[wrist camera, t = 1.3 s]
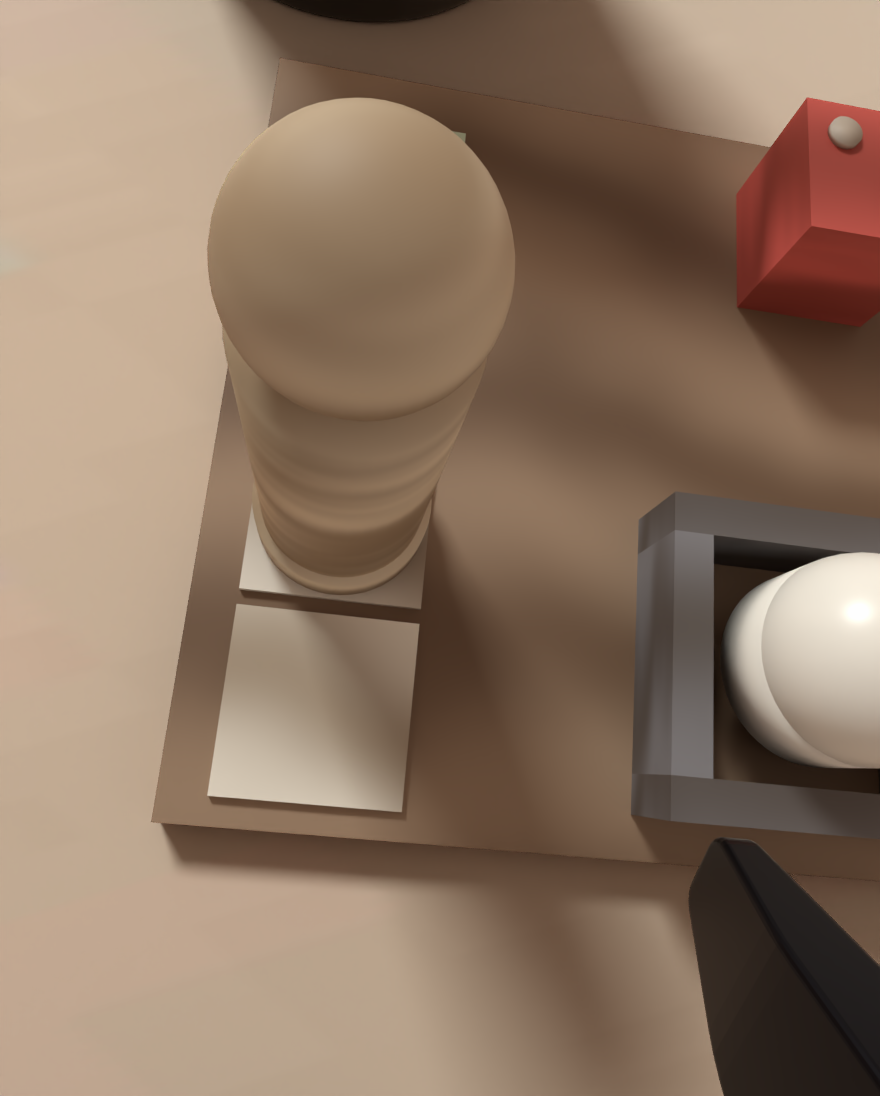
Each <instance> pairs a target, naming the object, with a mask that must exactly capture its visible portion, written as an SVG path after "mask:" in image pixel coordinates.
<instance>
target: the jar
mask: <svg viewBox="0 0 880 1096" xmlns="http://www.w3.org/2000/svg"><path fill="white" fill-rule="evenodd" d="M277 1H279V2H282V3H284V4H287V5H289V6H292V7H295V8H298V9H300V10H303V11H307V12H310V13H314V14H318V15H322V16H327V17H331V18H336V19H344V20H351V21H364V22H390V21H402V20H409V19H416V18H421V17H425V16H430V15H433V14H436V13H440V12H443V11H446V10H448V9H451V8H453V7H456V6H458V5H460V4H462V3H464V2H466V1H468V0H277Z"/></svg>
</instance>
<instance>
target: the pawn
mask: <svg viewBox="0 0 880 1096" xmlns="http://www.w3.org/2000/svg"><path fill="white" fill-rule="evenodd" d="M207 250H208V272H209V280H210V286H211V292H212V296H213V299H214V302H215V305H216V309H217V312H218V314H219V317H220V320H221V323H222V329H223V342H224V348H225V354H226V358H227V363H228V367H229V371H230V376H231V380H232V385H233V389H234V393H235V398H236V402H237V407H238V411H239V415H240V420H241V424H242V429H243V433H244V437H245V442H246V446H247V451H248V455H249V459H250V464H251V468H252V472H253V477H254V484H253V492H252V508H253V514H254V519H255V523H256V527H257V531H258V534H259V537H260V540H261V543H262V545H263V547H264V549H265V551H266V553H267V554H268V556H269V557H270V559H271V560H272V562H273V563H274V564H275V565H276V566H277V568H278V569H279V570H280V571H281V572H283V573H284V574H285V575H286V576H287V577H288V578H290V579H291V580H293V581H294V582H296V583H298V584H300V585H302V586H304V587H306V588H308V589H311V590H314V591H317V592H320V593H325V594H331V595H353V594H358V593H364V592H367V591H370V590H373V589H375V588H377V587H380V586H382V585H384V584H385V583H387V582H389V581H390V580H392V579H393V578H394V577H396V576H397V575H398V574H399V573H400V572H402V571H403V569H404V568H405V567H406V566H407V565H408V564H409V563H410V561H411V560H412V558H413V557H414V555H415V554H416V552H417V550H418V548H419V546H420V543H421V541H422V539H423V537H424V535H425V532H426V530H427V527H428V524H429V519H430V514H431V503H432V499H431V497H432V495H433V493H434V490H435V488H436V486H437V483H438V481H439V478H440V476H441V474H442V471H443V469H444V467H445V464H446V462H447V459H448V457H449V455H450V452H451V450H452V448H453V445H454V443H455V440H456V438H457V436H458V433H459V431H460V429H461V426H462V424H463V421H464V419H465V417H466V414H467V412H468V410H469V407H470V405H471V403H472V400H473V398H474V395H475V393H476V391H477V388H478V386H479V384H480V381H481V378H482V375H483V372H484V369H485V366H486V361H487V356H488V354H489V353H490V351H491V350H492V348H493V346H494V344H495V343H496V341H497V339H498V337H499V335H500V333H501V331H502V329H503V326H504V323H505V320H506V317H507V314H508V311H509V308H510V304H511V300H512V294H513V289H514V280H515V248H514V240H513V234H512V228H511V224H510V220H509V216H508V213H507V209H506V207H505V205H504V202H503V200H502V197H501V195H500V193H499V190H498V188H497V186H496V184H495V182H494V180H493V179H492V177H491V175H490V174H489V172H488V170H487V169H486V167H485V166H484V165H483V164H482V162H481V161H480V160H479V158H478V157H477V156H476V155H475V153H474V152H473V151H472V150H471V149H470V148H469V147H468V146H467V145H466V144H465V143H464V141H463V140H462V139H461V138H459V137H458V136H457V135H456V134H455V133H453V132H452V131H451V130H450V129H449V128H447V127H446V126H444V125H443V124H441V123H439V122H438V121H436V120H435V119H433V118H431V117H429V116H427V115H425V114H423V113H421V112H419V111H417V110H415V109H412V108H410V107H407V106H404V105H402V104H398V103H394V102H390V101H386V100H380V99H373V98H343V99H334V100H329V101H324V102H319V103H316V104H313V105H310V106H306V107H304V108H301V109H299V110H297V111H295V112H293V113H290V114H289V115H287V116H285V117H284V118H282V119H281V120H279V121H277V122H276V123H274V124H273V125H271V126H270V127H269V128H267V129H266V130H265V131H264V132H263V133H261V134H260V135H259V136H258V137H257V138H255V139H254V141H253V142H252V143H251V144H250V145H249V146H248V147H247V148H246V149H245V150H244V152H243V153H242V154H241V156H240V157H239V158H238V160H237V161H236V163H235V164H234V166H233V167H232V169H231V170H230V172H229V173H228V175H227V177H226V179H225V182H224V184H223V186H222V188H221V190H220V193H219V195H218V198H217V200H216V204H215V207H214V210H213V214H212V217H211V224H210V232H209V239H208V247H207Z"/></svg>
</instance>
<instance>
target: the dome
mask: <svg viewBox="0 0 880 1096" xmlns="http://www.w3.org/2000/svg"><path fill="white" fill-rule="evenodd" d="M720 665H721V674H722V680H723V685H724V688H725V691H726V694H727V697H728V700H729V702H730V704H731V706H732V709H733V710H734V712H735V714H736V715H737V717H738V719H739V720H740V722H741V723H742V724H743V726H744V727H745V728H746V730H747V731H748V732H749V733H750V734H751V735H752V736H753V737H754V738H755V739H756V740H757V741H758V742H759V743H760V744H761V745H763V746H764V747H765V748H766V749H768V750H769V751H771V752H772V753H774V754H775V755H777V756H779V757H781V758H783V759H785V760H787V761H789V762H792V763H795V764H799V765H802V766H807V767H813V768H880V554H878V553H865V552H859V553H846V554H838V555H834V556H829V557H826V558H822V559H819V560H817V561H814V562H811V563H809V564H806V565H804V566H802V567H799V568H797V569H794V570H792V571H789V572H787V573H784V574H782V575H780V576H777V577H775V578H772V579H770V580H767V581H765V582H763V583H762V584H760V585H758V586H756V587H755V588H753V589H752V590H751V591H750V592H748V593H747V594H746V595H745V596H744V597H743V598H742V599H741V600H740V602H739V603H738V604H737V606H736V607H735V609H734V610H733V611H732V613H731V615H730V617H729V619H728V621H727V624H726V627H725V630H724V633H723V637H722V642H721V651H720Z"/></svg>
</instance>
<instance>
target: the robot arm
mask: <svg viewBox="0 0 880 1096" xmlns="http://www.w3.org/2000/svg"><path fill="white" fill-rule="evenodd" d="M689 912H690V918H691V924H692V930H693V937H694V943H695V949H696V955H697V961H698V967H699V973H700V979H701V986H702V992H703V998H704V1004H705V1010H706V1016H707V1022H708V1029H709V1034H710V1039H711V1045H712V1050H713V1055H714V1059H715V1063H716V1067H717V1071H718V1076H719V1080H720V1084H721V1087H722V1091H723V1095H724V1096H880V965H879V964H878V963H877V962H876V961H875V960H874V959H873V958H872V957H871V956H870V955H869V954H868V953H867V952H866V951H865V950H864V949H863V948H862V947H861V946H860V945H859V944H858V943H857V942H856V941H855V940H854V939H853V938H852V937H851V936H850V935H849V934H848V933H847V932H846V931H845V930H844V929H843V928H842V927H841V926H840V925H839V924H838V923H837V922H836V921H835V920H834V919H833V918H832V917H831V916H830V915H829V914H828V913H827V912H826V911H825V910H824V909H823V908H822V907H821V906H820V905H819V904H818V903H817V902H816V901H815V900H814V899H813V898H812V897H811V896H810V895H809V894H808V893H807V892H806V891H805V890H804V889H803V888H802V887H801V886H800V885H799V884H798V883H797V882H796V881H795V880H794V879H793V878H792V877H791V876H790V875H789V874H788V873H787V872H786V871H785V870H784V869H783V868H782V867H781V866H780V865H779V864H778V863H777V862H776V861H775V860H774V859H773V858H772V857H771V856H770V855H769V854H768V853H767V852H766V851H765V850H764V849H763V848H762V847H760V846H759V845H758V844H757V843H755V842H754V841H751V840H748V839H739V838H728V837H718V838H716V839H714V840H713V841H712V842H711V844H710V845H709V847H708V849H707V851H706V854H705V856H704V858H703V860H702V862H701V864H700V866H699V869H698V871H697V873H696V875H695V877H694V879H693V881H692V884H691V887H690V891H689Z"/></svg>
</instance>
